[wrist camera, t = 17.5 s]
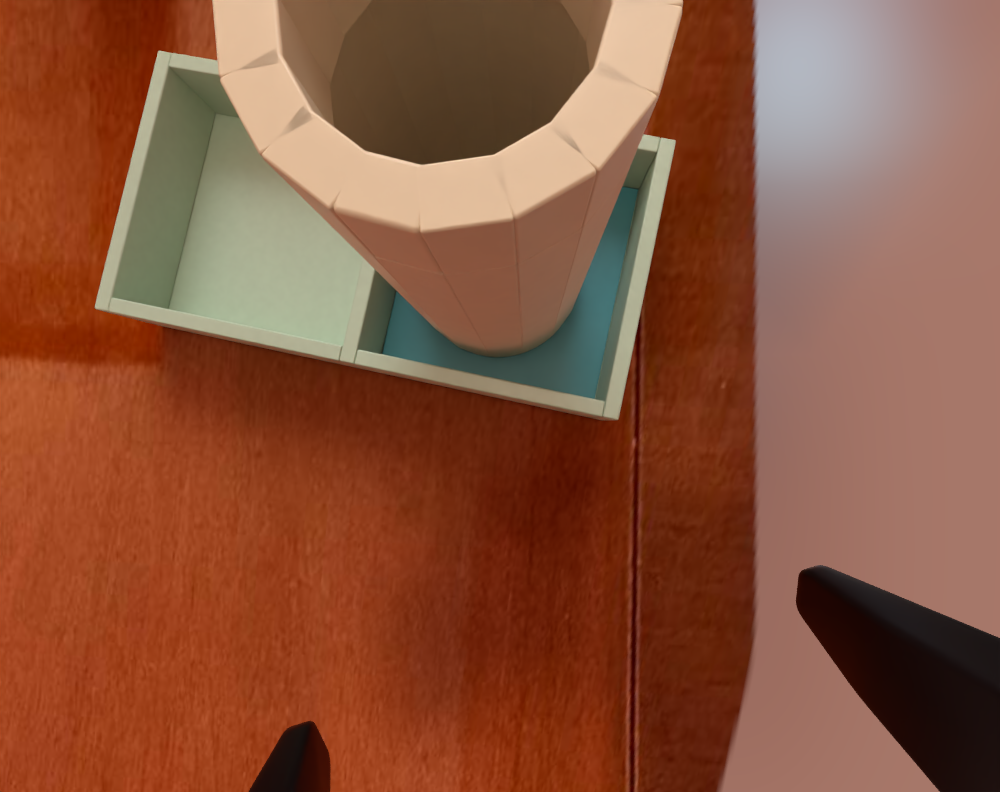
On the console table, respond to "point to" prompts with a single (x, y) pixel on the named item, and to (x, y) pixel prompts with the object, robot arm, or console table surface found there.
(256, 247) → the tray
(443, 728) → the console table surface
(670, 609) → the console table surface
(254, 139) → the jar
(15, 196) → the console table surface
